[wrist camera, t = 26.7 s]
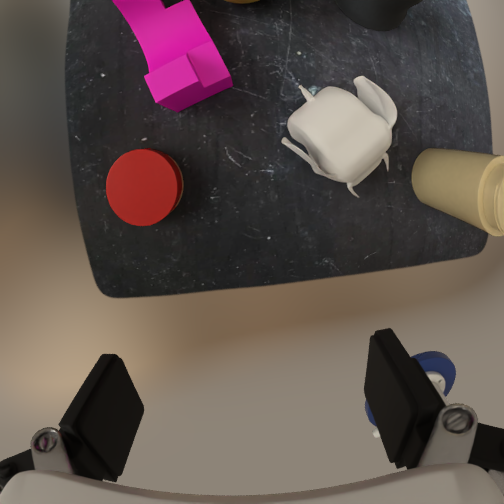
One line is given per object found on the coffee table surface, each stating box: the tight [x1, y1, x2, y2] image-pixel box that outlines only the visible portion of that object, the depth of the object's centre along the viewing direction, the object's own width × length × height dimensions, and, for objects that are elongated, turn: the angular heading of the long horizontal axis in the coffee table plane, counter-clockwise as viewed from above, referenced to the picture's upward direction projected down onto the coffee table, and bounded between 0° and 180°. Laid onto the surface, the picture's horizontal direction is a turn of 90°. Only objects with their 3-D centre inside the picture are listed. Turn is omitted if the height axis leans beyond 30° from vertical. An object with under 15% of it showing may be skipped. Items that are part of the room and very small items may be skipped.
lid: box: [106, 148, 183, 226], centre depth 29 cm, size 8×8×2 cm
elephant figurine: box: [282, 76, 397, 198], centre depth 25 cm, size 10×12×9 cm
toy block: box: [112, 0, 233, 112], centre depth 22 cm, size 15×6×8 cm, turn 24°
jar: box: [412, 148, 504, 237], centre depth 23 cm, size 7×7×14 cm
